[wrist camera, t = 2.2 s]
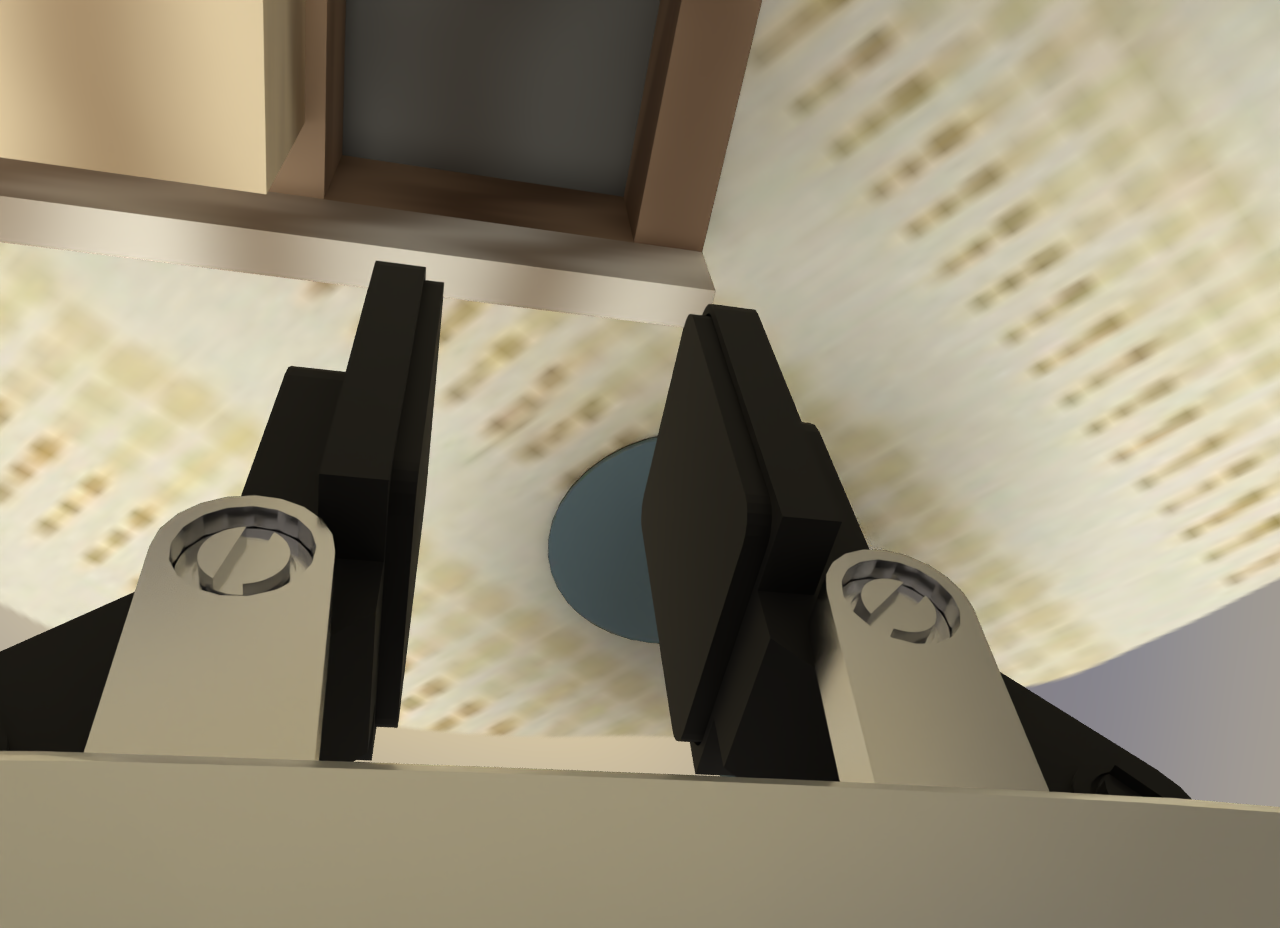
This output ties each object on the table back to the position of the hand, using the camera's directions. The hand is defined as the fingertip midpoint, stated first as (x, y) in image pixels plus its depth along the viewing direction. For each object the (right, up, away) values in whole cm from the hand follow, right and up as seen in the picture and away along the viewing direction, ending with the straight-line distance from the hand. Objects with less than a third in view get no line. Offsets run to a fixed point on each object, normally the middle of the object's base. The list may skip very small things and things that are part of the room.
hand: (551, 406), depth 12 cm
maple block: (-10, +11, +12) cm, 19 cm away
